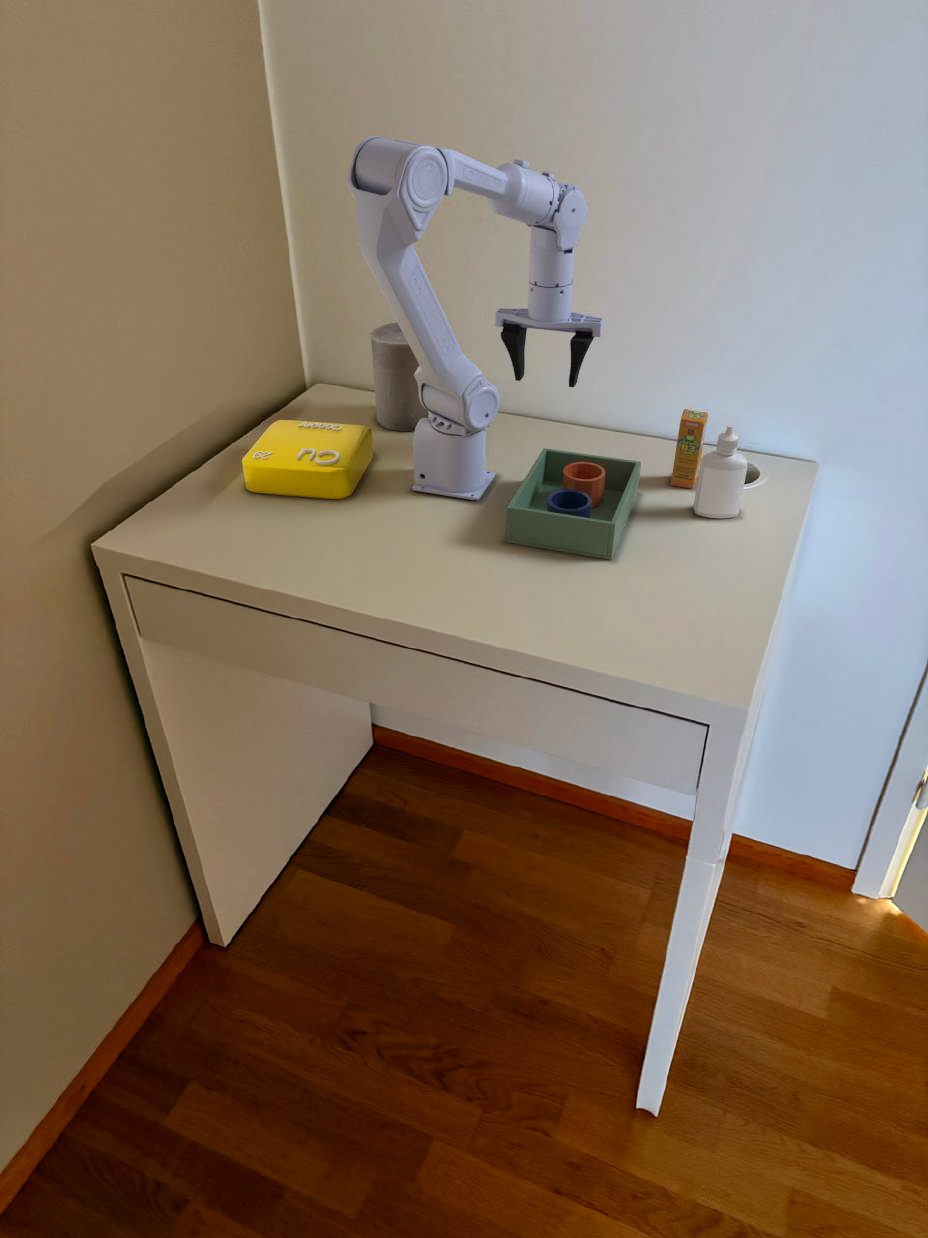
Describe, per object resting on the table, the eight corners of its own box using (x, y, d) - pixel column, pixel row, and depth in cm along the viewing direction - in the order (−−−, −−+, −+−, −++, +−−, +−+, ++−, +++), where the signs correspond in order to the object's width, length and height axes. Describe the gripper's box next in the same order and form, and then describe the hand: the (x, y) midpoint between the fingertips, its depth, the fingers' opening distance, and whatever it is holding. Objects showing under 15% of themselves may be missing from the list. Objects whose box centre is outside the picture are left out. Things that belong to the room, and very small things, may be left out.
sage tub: (505, 542, 113) (506, 507, 110) (542, 480, 126) (543, 447, 123) (611, 560, 109) (615, 524, 106) (637, 494, 122) (641, 461, 120)
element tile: (376, 452, 133) (374, 421, 131) (348, 501, 121) (345, 468, 119) (278, 445, 136) (274, 414, 133) (241, 492, 124) (236, 460, 121)
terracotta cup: (557, 506, 119) (558, 477, 117) (567, 487, 123) (568, 459, 121) (597, 512, 118) (600, 483, 115) (606, 493, 122) (609, 465, 119)
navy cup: (540, 536, 113) (542, 506, 110) (551, 515, 117) (553, 486, 114) (583, 543, 111) (586, 513, 109) (593, 522, 116) (596, 492, 113)
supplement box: (669, 486, 124) (678, 417, 118) (674, 475, 127) (684, 407, 121) (693, 490, 123) (704, 421, 117) (698, 479, 126) (709, 410, 120)
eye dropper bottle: (729, 525, 116) (746, 437, 109) (688, 513, 118) (701, 426, 111) (742, 511, 119) (759, 425, 111) (701, 499, 121) (715, 414, 114)
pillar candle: (448, 412, 145) (446, 317, 136) (420, 436, 138) (417, 337, 129) (393, 402, 148) (388, 309, 139) (364, 425, 141) (357, 328, 132)
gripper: (611, 277, 121) (603, 377, 129) (506, 268, 125) (504, 365, 133) (600, 292, 115) (592, 395, 123) (490, 282, 119) (489, 383, 127)
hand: (546, 381), depth 128 cm, fingers open, 7 cm apart
